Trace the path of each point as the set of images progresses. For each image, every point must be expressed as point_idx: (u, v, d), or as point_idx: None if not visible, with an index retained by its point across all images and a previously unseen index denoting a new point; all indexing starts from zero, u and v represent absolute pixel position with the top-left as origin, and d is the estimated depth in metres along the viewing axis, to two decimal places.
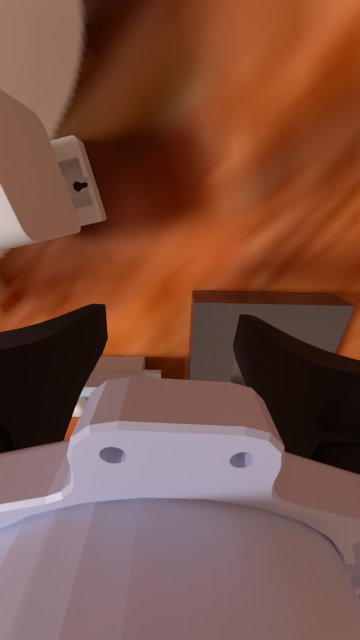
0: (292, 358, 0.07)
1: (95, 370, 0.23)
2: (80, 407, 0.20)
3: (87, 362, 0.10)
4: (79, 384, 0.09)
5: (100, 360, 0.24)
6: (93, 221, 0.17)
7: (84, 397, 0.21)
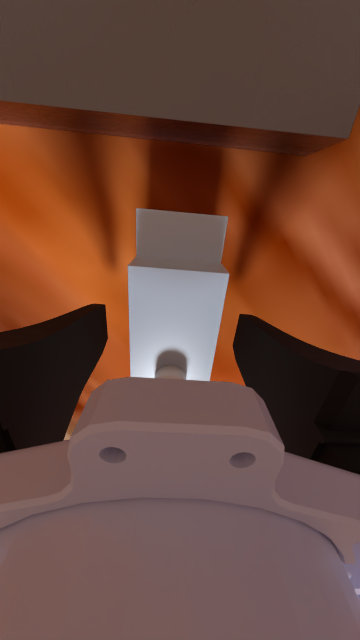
0: (292, 358, 0.07)
1: None
2: None
3: (87, 362, 0.10)
4: (79, 384, 0.09)
5: None
6: None
7: (156, 371, 0.11)
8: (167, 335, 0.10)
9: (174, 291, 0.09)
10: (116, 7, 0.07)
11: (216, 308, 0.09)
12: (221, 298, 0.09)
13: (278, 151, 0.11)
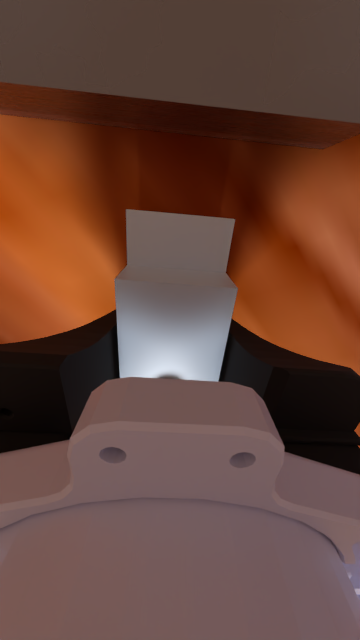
0: (244, 355, 0.07)
1: None
2: None
3: None
4: None
5: None
6: None
7: None
8: (163, 359, 0.08)
9: (171, 309, 0.07)
10: None
11: (221, 328, 0.08)
12: (227, 317, 0.08)
13: (290, 143, 0.09)
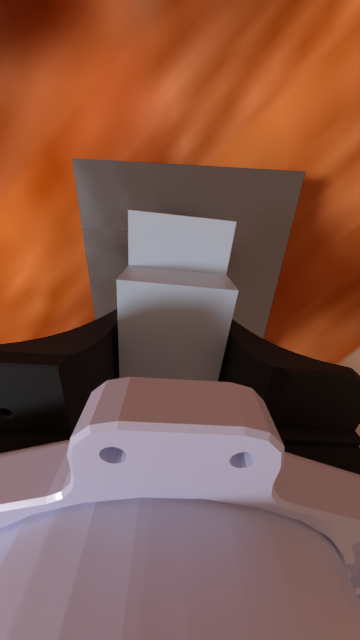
0: (244, 355, 0.07)
1: None
2: None
3: None
4: None
5: None
6: None
7: None
8: (163, 360, 0.08)
9: (172, 310, 0.08)
10: None
11: (221, 329, 0.08)
12: (228, 318, 0.08)
13: None
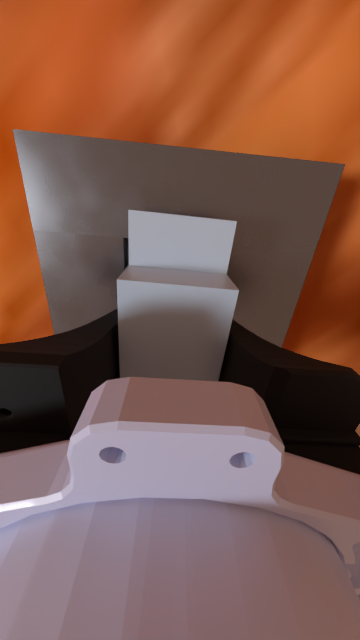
0: (244, 355, 0.07)
1: None
2: None
3: None
4: None
5: None
6: None
7: None
8: (164, 360, 0.08)
9: (173, 310, 0.08)
10: (92, 303, 0.12)
11: (222, 329, 0.08)
12: (228, 318, 0.08)
13: None
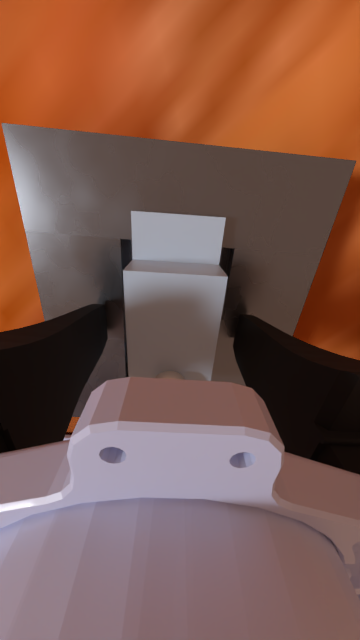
0: (292, 358, 0.07)
1: None
2: None
3: (87, 362, 0.10)
4: (79, 384, 0.09)
5: None
6: None
7: (155, 377, 0.11)
8: (165, 341, 0.10)
9: (171, 295, 0.09)
10: None
11: (215, 312, 0.09)
12: (220, 302, 0.09)
13: None
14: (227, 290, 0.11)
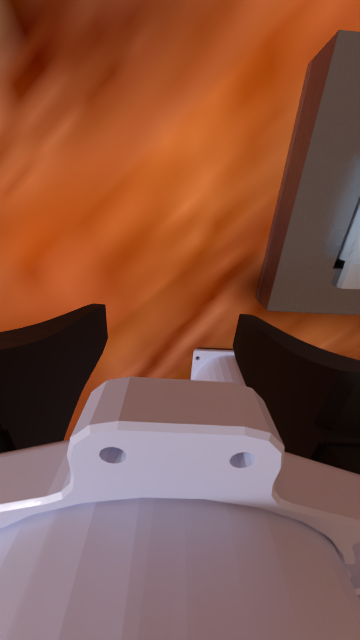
0: (292, 358, 0.07)
1: (359, 229, 0.16)
2: None
3: (87, 362, 0.10)
4: (79, 385, 0.09)
5: None
6: None
7: None
8: None
9: None
10: (332, 197, 0.15)
11: None
12: None
13: (259, 283, 0.20)
14: None
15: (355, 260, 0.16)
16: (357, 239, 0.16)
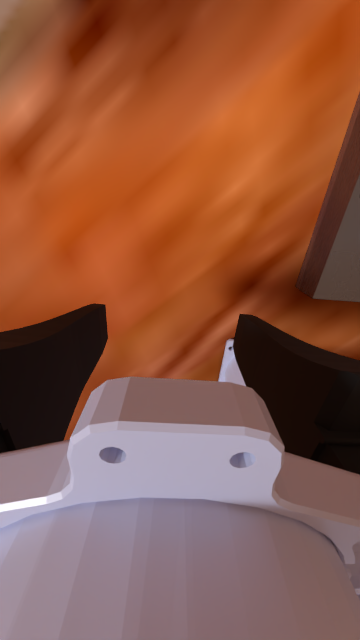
0: (292, 358, 0.07)
1: None
2: None
3: (87, 362, 0.10)
4: (79, 384, 0.09)
5: None
6: None
7: None
8: None
9: None
10: None
11: None
12: None
13: (301, 271, 0.20)
14: None
15: None
16: None
